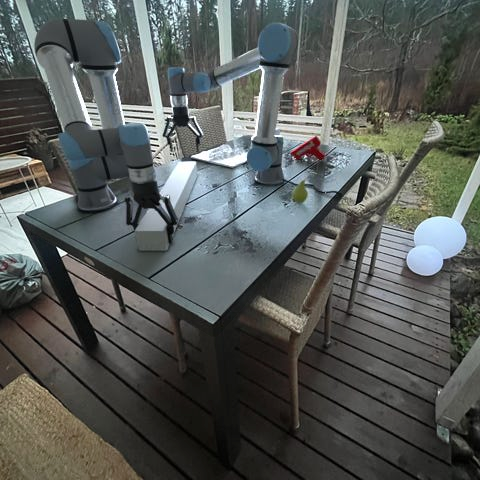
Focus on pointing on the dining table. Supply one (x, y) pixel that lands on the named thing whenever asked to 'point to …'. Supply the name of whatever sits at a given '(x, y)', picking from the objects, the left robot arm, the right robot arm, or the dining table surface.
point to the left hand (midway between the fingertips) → (156, 241)
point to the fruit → (300, 192)
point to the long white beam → (152, 225)
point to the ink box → (277, 132)
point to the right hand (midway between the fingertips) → (184, 151)
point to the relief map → (223, 156)
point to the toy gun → (309, 149)
